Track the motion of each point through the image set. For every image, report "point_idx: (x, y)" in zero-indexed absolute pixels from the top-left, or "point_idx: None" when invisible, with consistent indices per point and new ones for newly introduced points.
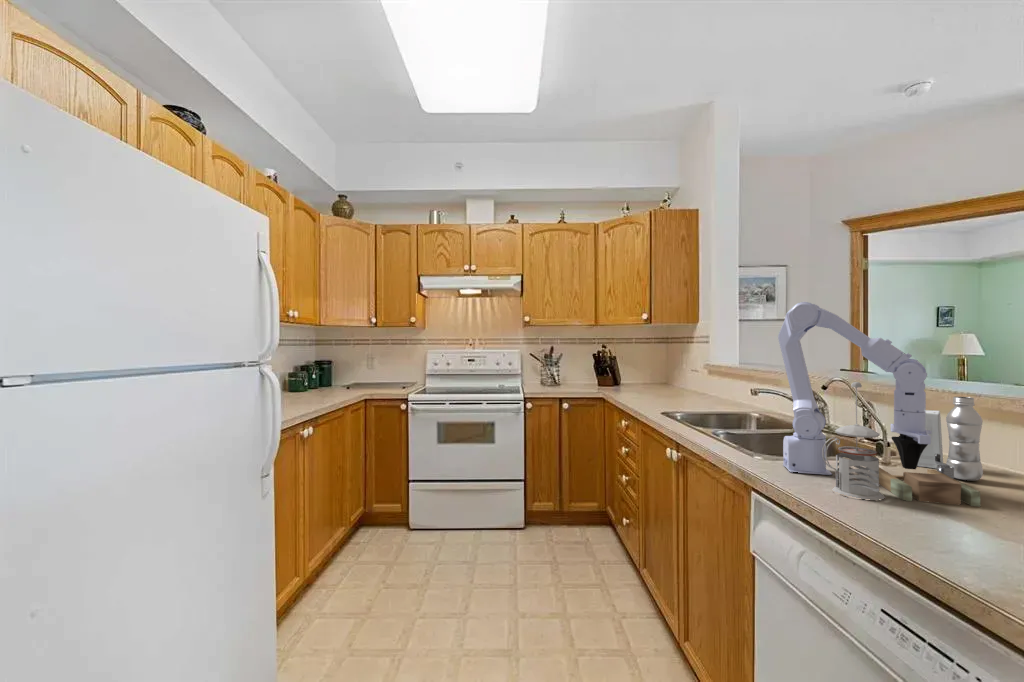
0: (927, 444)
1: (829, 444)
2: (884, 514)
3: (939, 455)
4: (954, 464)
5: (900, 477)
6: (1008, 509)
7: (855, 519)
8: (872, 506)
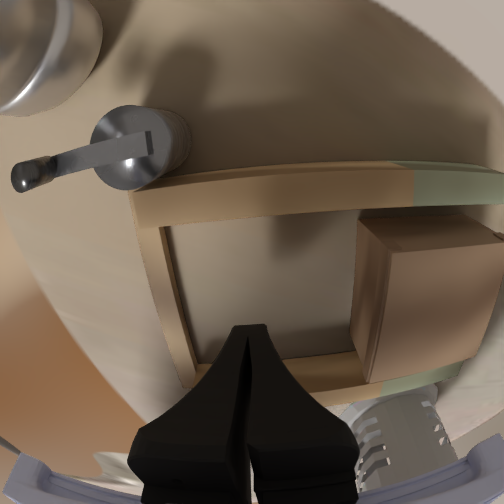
0: (346, 427)
1: None
2: (496, 378)
3: (30, 168)
4: (44, 86)
5: (178, 309)
6: (474, 90)
7: (500, 403)
8: (463, 393)
